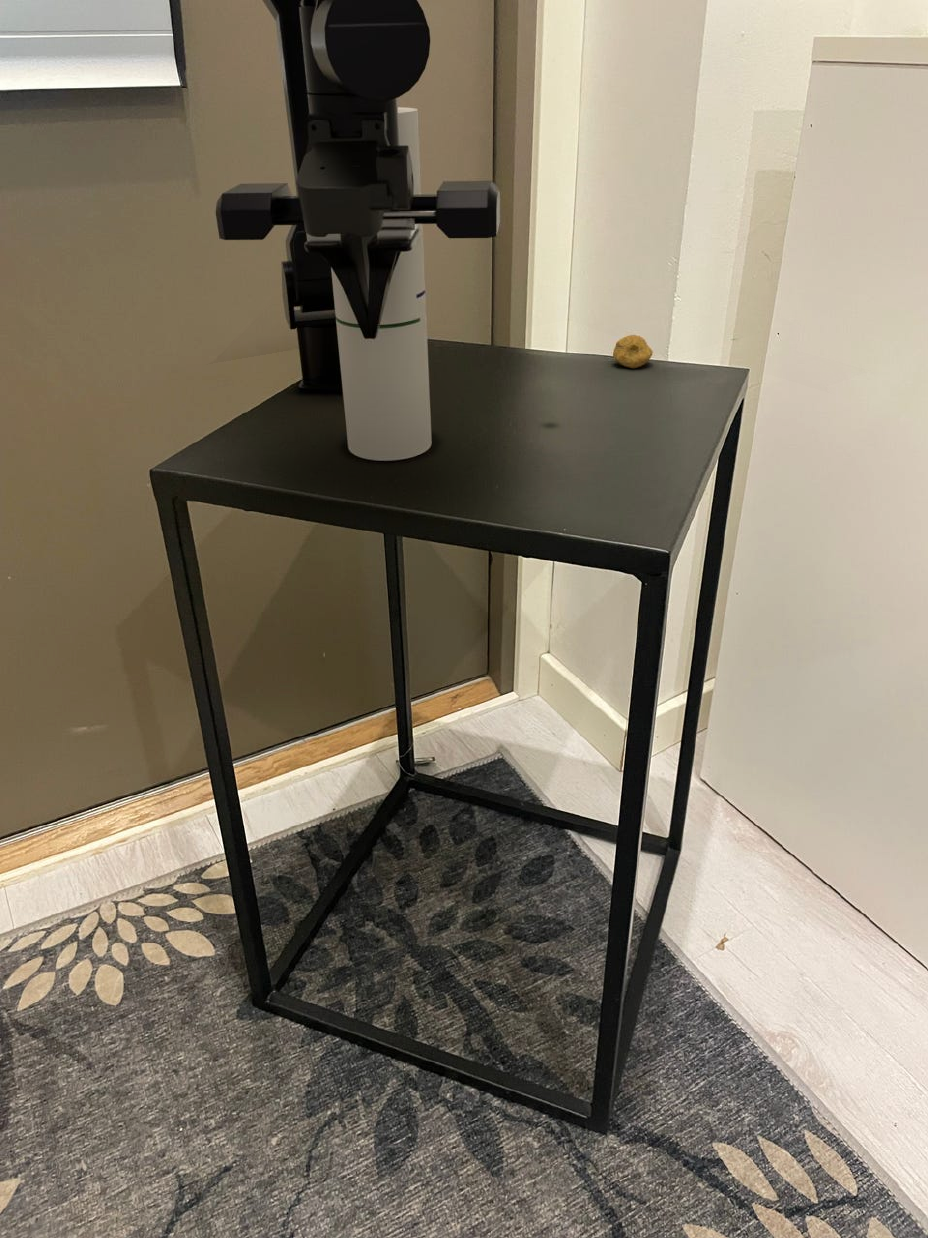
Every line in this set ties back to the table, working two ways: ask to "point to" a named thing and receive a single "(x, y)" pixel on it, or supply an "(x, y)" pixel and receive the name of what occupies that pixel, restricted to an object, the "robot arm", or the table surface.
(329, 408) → the table surface
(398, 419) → the cylindrical container
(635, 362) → the tan lumpy rounded lump
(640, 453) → the table surface
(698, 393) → the table surface
